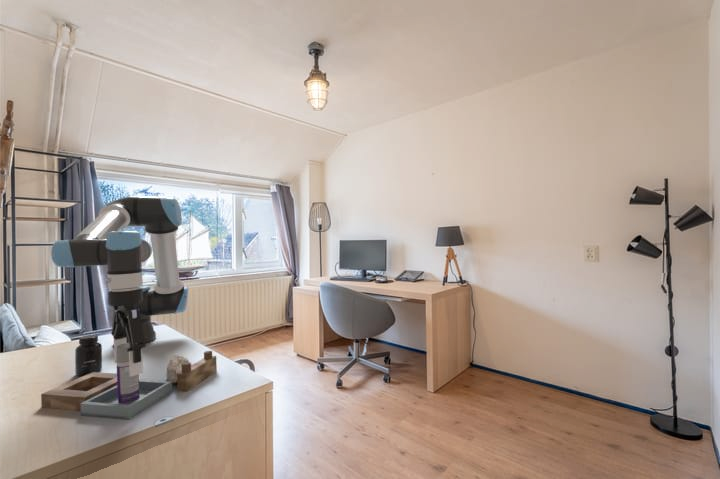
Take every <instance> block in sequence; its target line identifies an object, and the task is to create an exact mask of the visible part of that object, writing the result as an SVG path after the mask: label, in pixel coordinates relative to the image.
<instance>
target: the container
mask: <svg viewBox="0 0 720 479" xmlns="http://www.w3.org/2000/svg"><path fill="white" fill-rule="evenodd" d="M136 344H137V343H136ZM128 348H130V346H129V343H125V344H121V345H118V346H117V363H116V373H117V385H118V404H123V405H128V404H131V403H133V402H134V401H136V400H138V399H139V398H140V397H139V380H140V376H139V375H140V374H138V375H135V376H131V377H130V370H129V352H127V349H128Z"/></svg>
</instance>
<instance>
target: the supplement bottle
mask: <svg viewBox="0 0 720 479" xmlns="http://www.w3.org/2000/svg"><path fill="white" fill-rule="evenodd" d="M98 338H99V337H98V334H89V335H88V334H87V335H84V336H80V337H79V338H78V340H79V341H78V344H79V345H77V346H76V347H75V350H74V353H75V355H74V356H75V358H74V359H75V360H74V363H75V364H74V365H75V370H74V371H75V375H76V376H77V377H83V376H85V375H88V374H90V373H92V372H101V371H102V368H103V355H102V354H103V352H102V351H103V350H102V349H103V348H102V346H103V345H102V344H101V342H98V341H99V339H98Z"/></svg>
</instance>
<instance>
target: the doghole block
mask: <svg viewBox="0 0 720 479" xmlns="http://www.w3.org/2000/svg"><path fill="white" fill-rule="evenodd" d="M115 386H117V372H115V373H113V372H101V371H99V372H92V373H90V374H88V375H85V376H79V377H78V378H75V379H73V380H72V381H69V382H66V383H65V384H62V385H61V384H60V386H57V387H55V388H53V389H50V390H48V391H45V392H42V393H41V394H40V395H41V396H40V398H41V400H40V401H41V403H40V404H41V408H46V409H47V408H48V409H49V408H50V409H61V410H71V411H72V410H73V411H81V405H80V404H81V403H83V402H85V401H87V400H89V399H91V398H93V397H95V396H97V395H99V394H101V393H103V392H105V391H107V390H109V389H111V388H113V387H115Z"/></svg>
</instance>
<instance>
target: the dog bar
mask: <svg viewBox="0 0 720 479" xmlns="http://www.w3.org/2000/svg"><path fill="white" fill-rule="evenodd" d="M215 371H216V372H217V371H218V370H217V356H216V355H213V351H212V350H206V351H204V352H203V358H202V359H199V360H198V361H196V362H194V363H193V364H192V362H190V361H189V362H188V363H183V364H182V371H180V372H179V373H177V383H176V385H177V386H176V387H177V391H178V392H188V391H189V390H191V389H192V388H194V387H196V386H197V385H198V384H200V383H202V382H203V381H205V380H206V379H207V378H209V377H210V376H212V375H213V374H215V373H216V372H215ZM214 372H215V373H214ZM211 374H212V375H211ZM208 376H209V377H208Z"/></svg>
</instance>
